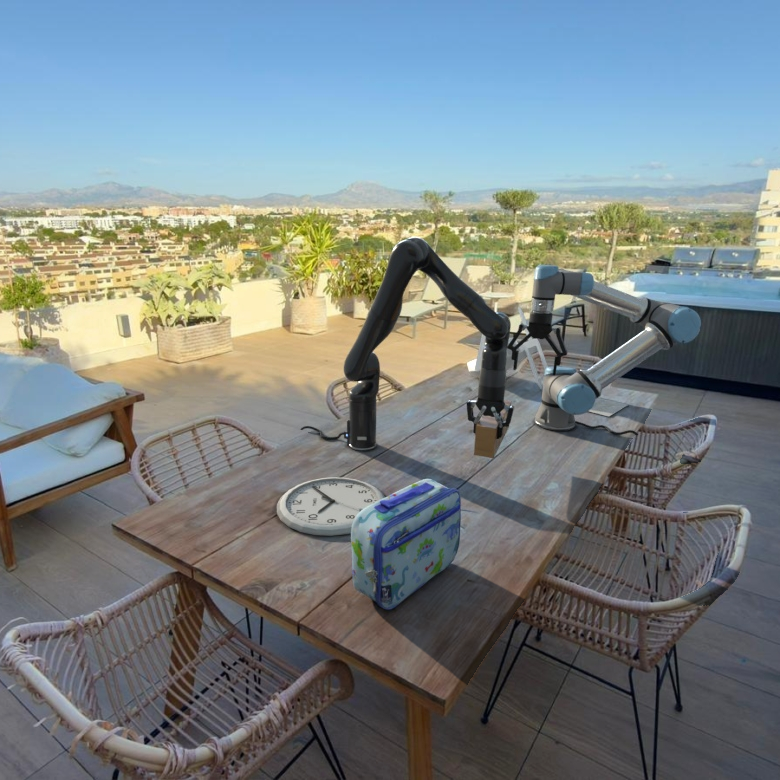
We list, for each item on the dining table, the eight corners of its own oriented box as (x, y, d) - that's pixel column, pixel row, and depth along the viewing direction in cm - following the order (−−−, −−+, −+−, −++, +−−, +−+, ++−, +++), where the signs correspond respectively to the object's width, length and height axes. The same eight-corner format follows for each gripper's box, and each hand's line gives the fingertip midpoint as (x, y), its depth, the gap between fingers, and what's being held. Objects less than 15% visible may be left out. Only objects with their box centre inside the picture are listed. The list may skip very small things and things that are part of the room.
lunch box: (380, 623, 100) (381, 528, 94) (344, 596, 108) (343, 505, 101) (464, 565, 118) (470, 482, 112) (428, 545, 125) (432, 466, 119)
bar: (491, 424, 179) (494, 398, 177) (509, 427, 177) (511, 400, 175) (473, 455, 155) (476, 425, 152) (493, 458, 153) (496, 428, 150)
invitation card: (608, 416, 214) (573, 407, 224) (608, 416, 214) (573, 408, 224) (628, 404, 229) (594, 396, 238) (628, 405, 229) (594, 397, 238)
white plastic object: (487, 418, 267) (468, 395, 242) (469, 346, 289) (449, 318, 264) (558, 394, 255) (545, 368, 230) (533, 321, 277) (518, 289, 252)
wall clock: (392, 527, 129) (268, 531, 127) (391, 533, 130) (269, 537, 127) (383, 473, 158) (282, 475, 155) (383, 478, 158) (282, 480, 156)
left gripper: (464, 382, 150) (461, 437, 155) (515, 389, 145) (509, 445, 150) (470, 376, 157) (467, 428, 162) (519, 382, 152) (514, 436, 157)
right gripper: (502, 309, 180) (497, 369, 186) (579, 316, 170) (570, 379, 177) (507, 307, 186) (501, 364, 192) (580, 313, 177) (572, 373, 183)
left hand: (487, 436), depth 156 cm, fingers closed on bar, 6 cm apart
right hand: (534, 371), depth 185 cm, fingers open, 13 cm apart
